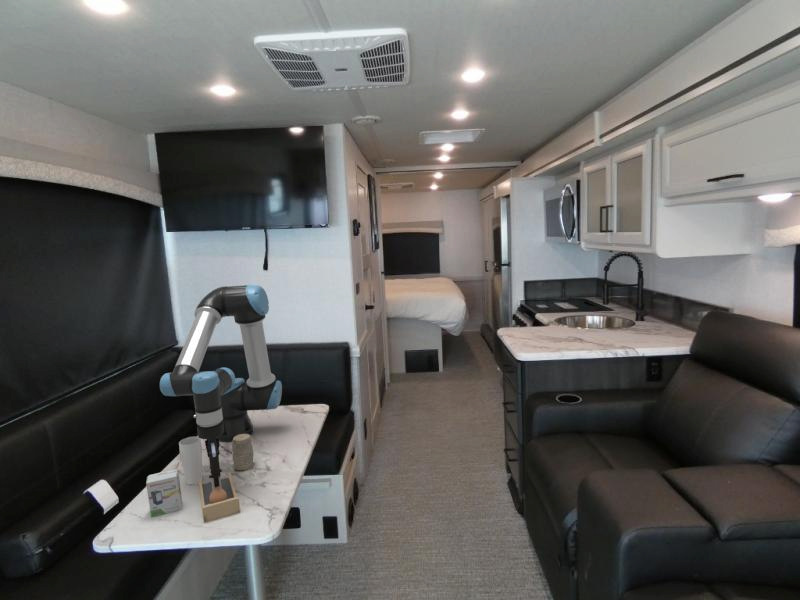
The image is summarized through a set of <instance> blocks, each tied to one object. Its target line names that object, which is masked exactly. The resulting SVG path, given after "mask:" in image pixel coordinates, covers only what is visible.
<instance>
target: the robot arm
mask: <svg viewBox="0 0 800 600" xmlns="http://www.w3.org/2000/svg"><path fill="white" fill-rule="evenodd" d="M269 309H270V306H269V298H268V294H267V293H266V290H265V288H263V286H261V285H259V284H258V285H256V284H255V285H252V284H248V285H232V286H231V285H230V286H227V285H226V286H219V287H217V288H214V289H213V290H212V291H210V292H208V293H207V294H206V295H205V296H204V297H203V298H202V299H201V300H200V302H199V303H198V305H197V306H196V308H195V311H194V318H195V319H194V321H193V323H192V324H191V325H192V326H191V327H190V330H189V333H188V335H187V338H186V340H185V342H184V345H183V346H182V350H181V352H180V354H179V356H178V359H177V361H176V363H175V366H174V368H173V371H172V372H167V373H164V374H163V375H162V376H161V377H160V381H159V390H160V392H161V393H162V395H163V396H166V397H182V396H185V397H186V396H193V403H194V411H195V414H193V418H194V419H195V421H196V424H197V425H196V430H197V437H199V438H200V440H201V439H202V440H204V446H205V450H206V454H207V457H208V460H209V461H208V462H209V469H210V475H208V478H209V479H210V480H211V481H210V482H212V491H213V490H215V489H218V488H220V489H222V485H221V479H222V477H221V473H222V472H223V469H222V468H221V467H220V465H221V464H220V458H219V456H220V455H221V454H220V442H227V443H230V442H231V443H232V441H233V438H234V437H235V436H237V435H239V434H249V435H250V436H252V435H253V433H254V431H255V430H254V425H253V423H252V421H251V419H250V417H249V414H248V411H268V410H270V411H271V410H276V409H277V408H278V407H279V406H280V403H281V400H282V393H283V384H282V381H281V380H277V379H276V375H275V374H274V373H272V371H271V365H270V361H269V360H270V359H269V355H268V354H269V353H268V348H267V343H266V335H265V330H264V323H263V321H264V320H265V319H266V315H268V313H269V312H270V311H269ZM225 317H233V318H234V323H235V324H237V325H239V328H240V333H241V339H242V344H243V350H244V355H245V360H246V366H247V371H248V379H246V380H245V379H244V378H243V377H237V378H236V376H235V373H234V372H233V370H232V369H230V368H228V367H220V368H216V369H215V370H208V371H200V369H201V366H202V364H203V360H204V357H205V355H206V352H207V349H208V347H209V344H210V342H211V339H212V336H213V334H214V331H215V328H216V325H218V324H219V323H221V320H222V318H225ZM245 381H246V382H245Z"/></svg>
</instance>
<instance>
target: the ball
mask: <svg viewBox="0 0 800 600" xmlns="http://www.w3.org/2000/svg"><path fill="white" fill-rule="evenodd" d="M226 498H227V494H226V492H225V490H223V489H220V488H218V489H215V490H213V491H212V492H211V494H210V497H209V500H210V503H211V504H213V503H217V502H221V501H224V500H226Z"/></svg>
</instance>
